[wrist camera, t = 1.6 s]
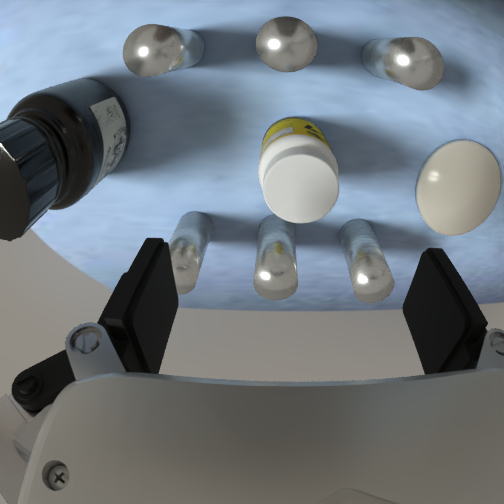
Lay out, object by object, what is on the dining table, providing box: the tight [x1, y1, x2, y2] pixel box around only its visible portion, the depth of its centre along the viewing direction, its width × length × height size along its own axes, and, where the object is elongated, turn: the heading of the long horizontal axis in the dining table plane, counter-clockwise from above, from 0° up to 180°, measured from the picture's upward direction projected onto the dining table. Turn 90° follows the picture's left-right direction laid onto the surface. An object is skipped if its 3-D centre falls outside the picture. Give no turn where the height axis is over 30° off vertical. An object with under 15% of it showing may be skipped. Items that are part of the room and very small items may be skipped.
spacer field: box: [123, 17, 444, 303], centre depth 20 cm, size 17×18×7 cm
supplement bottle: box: [258, 117, 339, 223], centre depth 20 cm, size 5×5×8 cm
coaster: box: [415, 139, 501, 236], centre depth 23 cm, size 9×9×1 cm
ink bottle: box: [0, 79, 130, 241], centre depth 18 cm, size 10×9×12 cm
